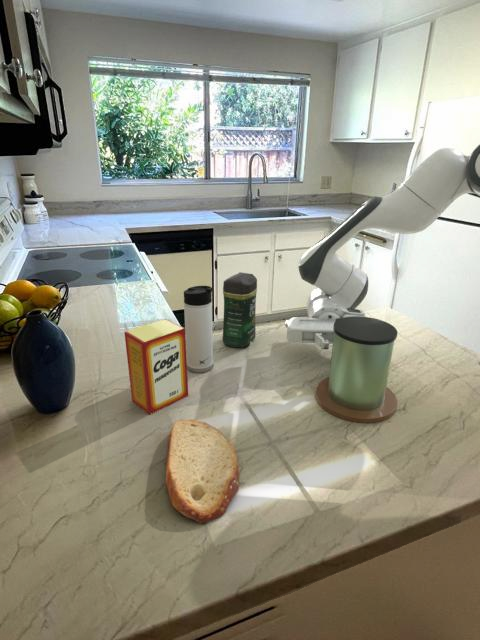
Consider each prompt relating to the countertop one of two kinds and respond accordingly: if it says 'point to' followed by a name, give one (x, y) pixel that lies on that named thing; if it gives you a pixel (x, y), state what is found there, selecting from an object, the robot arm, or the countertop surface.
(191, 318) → the travel mug
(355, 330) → the lidded mug on coaster
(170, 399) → the baking soda box
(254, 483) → the countertop surface
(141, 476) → the countertop surface
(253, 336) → the coffee jar
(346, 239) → the robot arm
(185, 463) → the slice of bread
